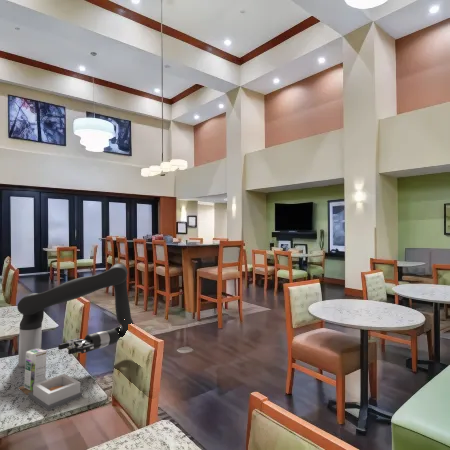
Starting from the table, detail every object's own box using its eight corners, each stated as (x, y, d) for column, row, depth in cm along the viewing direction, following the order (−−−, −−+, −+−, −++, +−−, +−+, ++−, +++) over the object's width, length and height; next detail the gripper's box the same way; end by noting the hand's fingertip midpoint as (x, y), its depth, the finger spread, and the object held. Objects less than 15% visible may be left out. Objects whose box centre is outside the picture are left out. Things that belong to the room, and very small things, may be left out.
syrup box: (23, 387, 132) (24, 351, 133) (38, 382, 138) (39, 347, 138) (31, 391, 130) (32, 354, 130) (46, 385, 135) (47, 350, 135)
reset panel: (27, 396, 127) (28, 382, 127) (61, 384, 137) (61, 371, 137) (48, 410, 117) (48, 395, 117) (82, 396, 128) (82, 382, 128)
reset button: (44, 396, 126) (45, 389, 126) (60, 390, 131) (60, 384, 131) (52, 401, 122) (52, 394, 122) (68, 395, 127) (68, 388, 127)
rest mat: (18, 389, 133) (18, 387, 133) (39, 382, 139) (39, 380, 139) (27, 395, 128) (27, 393, 128) (48, 387, 134) (48, 386, 134)
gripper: (89, 329, 161) (55, 337, 148) (106, 336, 152) (72, 344, 139) (88, 345, 161) (55, 354, 148) (105, 352, 152) (71, 362, 139)
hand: (63, 349), depth 143 cm, fingers open, 8 cm apart
